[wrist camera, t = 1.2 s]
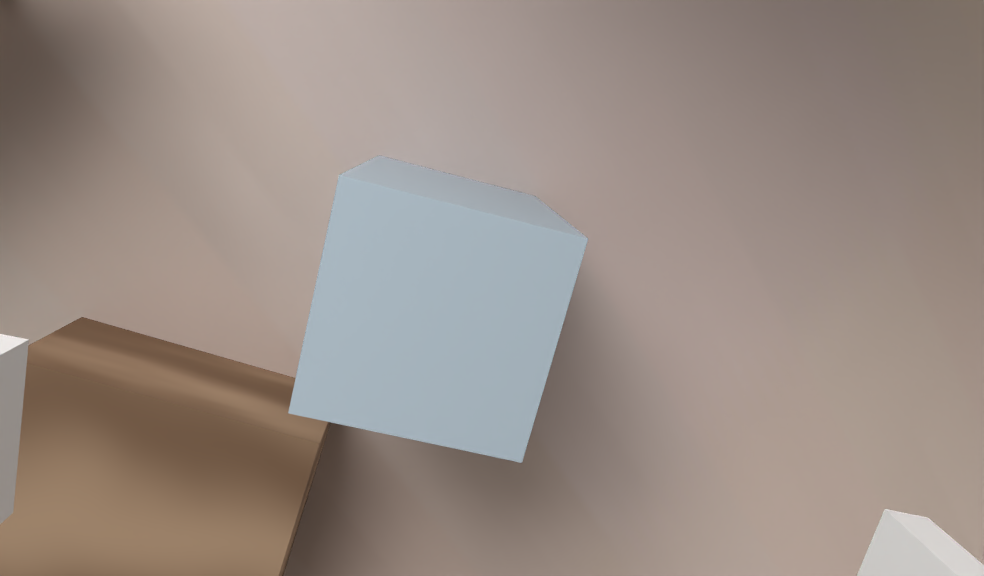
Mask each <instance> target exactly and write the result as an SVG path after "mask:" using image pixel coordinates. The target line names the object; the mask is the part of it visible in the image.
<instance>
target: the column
mask: <svg viewBox="0 0 984 576" xmlns="http://www.w3.org/2000/svg"><path fill="white" fill-rule="evenodd" d="M587 241H588V238H587V237H586V236H584V235H583V234H582V233H581V232H579V231H578V230H577V229H576V228H574V227H573V226H572V225H571V224H569V223H568V222H567V221H566V220H564V219H563V218H562V217H561V216H559V215H558V214H557V213H556V212H554V211H553V210H552V209H551V208H549V207H548V206H547V205H546V204H544V203H543V202H542V201H541V200H539V199H538V198H537V197H536V196H533V195H529V194H525V193H521V192H518V191H514V190H510V189H506V188H502V187H499V186H495V185H491V184H487V183H483V182H479V181H476V180H472V179H468V178H464V177H460V176H456V175H453V174H449V173H445V172H441V171H437V170H433V169H430V168H426V167H422V166H418V165H414V164H410V163H407V162H403V161H399V160H395V159H391V158H388V157H384V156H380V155H379V156H377V157H375V158H373V159H371V160H369V161H366V162H364V163H362V164H360V165H358V166H356V167H354V168H352V169H350V170H348V171H346V172H344V173H342V174H340V175H339V178H338V183H337V187H336V192H335V197H334V201H333V206H332V211H331V215H330V220H329V225H328V229H327V234H326V239H325V243H324V248H323V253H322V257H321V262H320V267H319V271H318V276H317V281H316V285H315V290H314V295H313V299H312V304H311V309H310V313H309V318H308V323H307V327H306V332H305V337H304V341H303V346H302V351H301V355H300V360H299V365H298V369H297V374H296V379H295V383H294V388H293V393H292V397H291V402H290V407H289V411H288V413H289V414H294V415H298V416H303V417H308V418H312V419H317V420H322V421H327V422H331V423H336V424H341V425H346V426H350V427H355V428H360V429H364V430H369V431H374V432H379V433H383V434H388V435H393V436H398V437H402V438H407V439H412V440H416V441H421V442H426V443H431V444H435V445H440V446H445V447H449V448H454V449H459V450H464V451H468V452H473V453H478V454H483V455H487V456H492V457H497V458H501V459H506V460H511V461H516V462H520V463H522V461H523V457H524V454H525V451H526V447H527V444H528V441H529V437H530V434H531V430H532V427H533V424H534V420H535V417H536V414H537V410H538V407H539V403H540V400H541V397H542V393H543V390H544V387H545V383H546V380H547V376H548V373H549V370H550V366H551V363H552V359H553V356H554V353H555V349H556V346H557V343H558V339H559V336H560V332H561V329H562V326H563V322H564V319H565V316H566V312H567V309H568V305H569V302H570V299H571V295H572V292H573V289H574V285H575V282H576V278H577V275H578V272H579V268H580V265H581V262H582V258H583V255H584V251H585V248H586V245H587Z"/></svg>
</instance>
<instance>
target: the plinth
mask: <svg viewBox="0 0 984 576" xmlns="http://www.w3.org/2000/svg"><path fill="white" fill-rule="evenodd" d="M295 379H296V378H293V377H290V376H286V375H283V374H279V373H276V372H272V371H269V370H265V369H262V368H258V367H255V366H251V365H248V364H244V363H241V362H237V361H234V360H230V359H227V358H223V357H220V356H216V355H213V354H209V353H206V352H202V351H199V350H195V349H192V348H188V347H185V346H181V345H178V344H174V343H171V342H167V341H164V340H160V339H157V338H153V337H150V336H146V335H143V334H139V333H136V332H132V331H129V330H125V329H122V328H118V327H115V326H111V325H108V324H104V323H101V322H97V321H94V320H90V319H87V318H83V317H81V318H79V319H78V320H76V321H74V322H72V323H70V324H68V325H66V326H64V327H62V328H61V329H59V330H57V331H55V332H53V333H51V334H49V335H47V336H45V337H44V338H42V339H40V340H38V341H36V342H34V343H32V344H30V345H29V346H28V355H27V366H26V377H25V388H24V399H23V410H22V421H21V432H20V443H19V454H18V465H17V476H16V487H15V498H14V509H13V513H12V514H11V515H10V516H9V517H8V518H7V519H5V520H4V521H3V522H2V523H1V524H0V576H283V574H284V571H285V567H286V564H287V561H288V558H289V555H290V551H291V548H292V545H293V542H294V538H295V535H296V532H297V529H298V526H299V522H300V519H301V516H302V513H303V509H304V506H305V503H306V500H307V497H308V493H309V490H310V487H311V484H312V480H313V477H314V474H315V471H316V468H317V464H318V461H319V458H320V455H321V451H322V448H323V445H324V442H325V439H326V435H327V432H328V429H329V426H330V422H327V421H322V420H317V419H312V418H308V417H303V416H298V415H294V414H289V413H288V411H289V407H290V402H291V397H292V393H293V388H294V383H295Z"/></svg>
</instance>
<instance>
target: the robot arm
mask: <svg viewBox="0 0 984 576" xmlns="http://www.w3.org/2000/svg"><path fill="white" fill-rule="evenodd" d="M28 344H29V340H28V339H23V338H18V337H13V336H8V335H3V334H0V524H1V523H2V522H3V521H4V520H5V519H7V518H8V517H9V516H10V515H11V514H12V513H13V509H14V498H15V487H16V476H17V465H18V454H19V443H20V432H21V421H22V410H23V399H24V388H25V377H26V366H27V355H28ZM857 576H984V565H983V564H982V563H981V562H980V561H978V560H977V559H976V558H975V557H974V556H972V555H971V554H970V553H969V552H968V551H967V550H965V549H964V548H963V547H962V546H961V545H960V544H958V543H957V542H956V541H955V540H954V539H953V538H951V537H950V536H949V535H948V534H947V533H945V532H944V531H943V530H942V529H941V528H940V527H938V526H937V525H936V524H935V523H934V522H933V521H931V520H930V519H929V518H928V517H923V516H918V515H913V514H908V513H903V512H898V511H893V510H888V509H885V510H884V512H883V514H882V517H881V519H880V522H879V524H878V526H877V529H876V531H875V534H874V536H873V538H872V541H871V543H870V546H869V548H868V550H867V553H866V555H865V558H864V560H863V562H862V565H861V567H860V570H859V572H858V574H857Z"/></svg>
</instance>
